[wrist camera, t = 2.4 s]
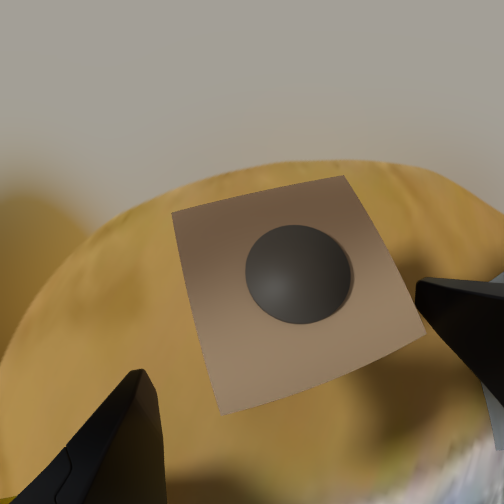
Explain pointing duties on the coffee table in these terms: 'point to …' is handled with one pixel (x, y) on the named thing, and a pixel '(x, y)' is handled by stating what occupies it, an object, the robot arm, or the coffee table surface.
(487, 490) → the coffee table surface
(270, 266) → the wooden block
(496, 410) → the tray
